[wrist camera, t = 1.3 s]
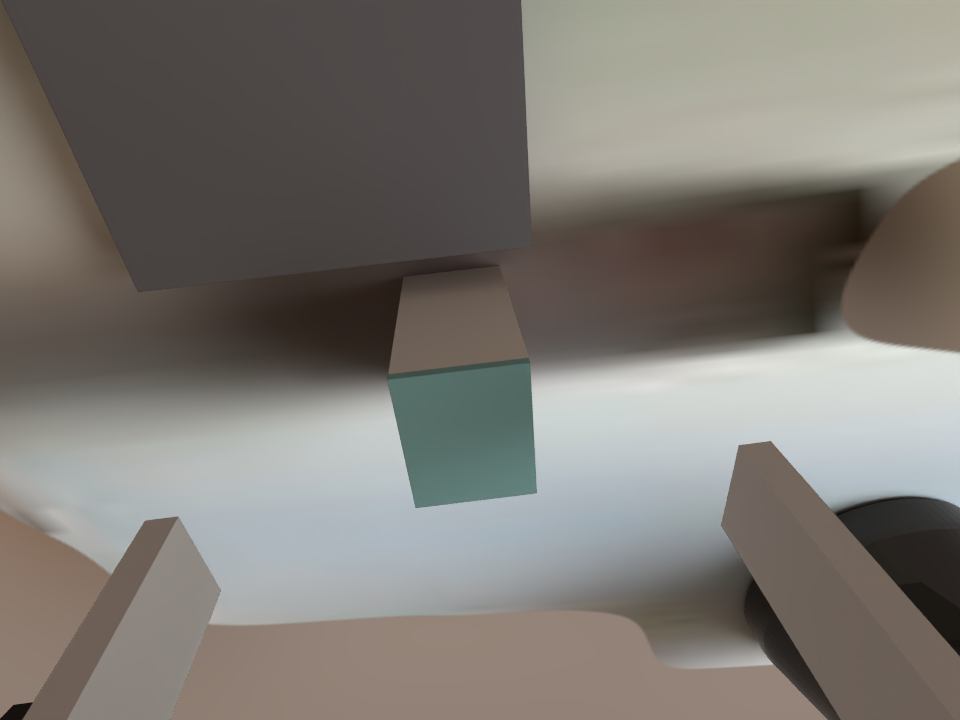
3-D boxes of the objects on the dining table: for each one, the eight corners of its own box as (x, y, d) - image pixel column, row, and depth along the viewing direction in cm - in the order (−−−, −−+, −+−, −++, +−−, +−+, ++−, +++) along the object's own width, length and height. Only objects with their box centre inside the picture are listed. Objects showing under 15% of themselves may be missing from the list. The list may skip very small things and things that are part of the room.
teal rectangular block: (507, 368, 24) (536, 493, 17) (421, 378, 24) (415, 508, 17) (499, 265, 21) (530, 362, 14) (403, 276, 21) (387, 380, 14)
